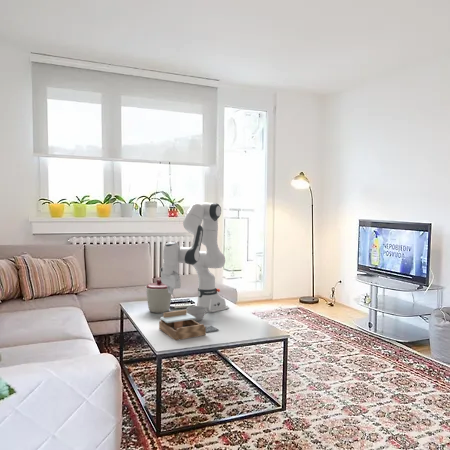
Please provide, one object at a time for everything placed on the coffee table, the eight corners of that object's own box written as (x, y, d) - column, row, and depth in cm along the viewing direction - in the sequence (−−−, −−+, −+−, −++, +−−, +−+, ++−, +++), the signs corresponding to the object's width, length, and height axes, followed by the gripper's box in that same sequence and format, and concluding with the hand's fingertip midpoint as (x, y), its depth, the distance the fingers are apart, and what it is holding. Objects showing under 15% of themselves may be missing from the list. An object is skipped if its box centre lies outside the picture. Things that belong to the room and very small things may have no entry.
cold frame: (187, 324, 260) (187, 314, 260) (205, 334, 242) (205, 324, 241) (159, 329, 251) (159, 318, 251) (175, 340, 232) (175, 329, 232)
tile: (211, 327, 256) (211, 325, 256) (218, 330, 249) (218, 329, 249) (199, 329, 252) (199, 327, 252) (206, 332, 245) (206, 331, 245)
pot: (180, 327, 255) (180, 318, 254) (184, 330, 250) (184, 320, 249) (171, 329, 252) (171, 319, 251) (175, 331, 247) (175, 321, 246)
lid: (188, 314, 259) (188, 309, 259) (195, 318, 251) (195, 313, 251) (160, 318, 250) (160, 313, 250) (167, 323, 242) (167, 317, 241)
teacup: (188, 323, 264) (188, 309, 263) (185, 318, 274) (185, 305, 274) (211, 321, 267) (211, 308, 267) (206, 316, 278) (207, 304, 277)
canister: (176, 313, 285) (176, 281, 283) (148, 315, 278) (148, 282, 276) (169, 306, 301) (169, 276, 300) (142, 308, 295) (142, 277, 293)
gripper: (183, 272, 250) (183, 296, 251) (168, 267, 268) (168, 289, 269) (173, 273, 247) (173, 297, 248) (158, 267, 264) (158, 290, 265)
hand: (170, 293), depth 258 cm, fingers closed
